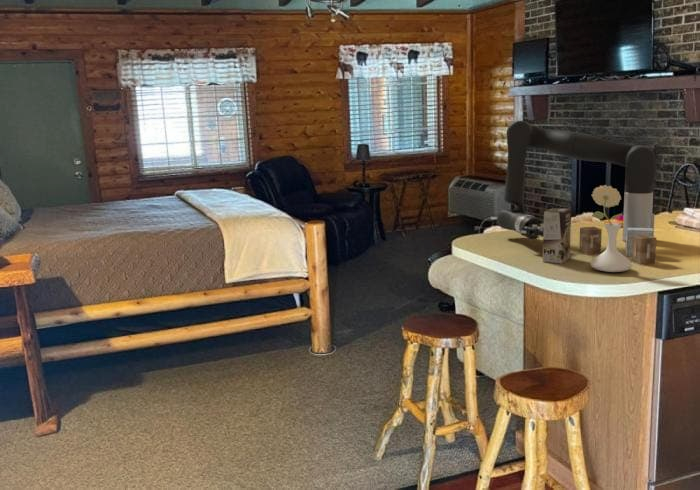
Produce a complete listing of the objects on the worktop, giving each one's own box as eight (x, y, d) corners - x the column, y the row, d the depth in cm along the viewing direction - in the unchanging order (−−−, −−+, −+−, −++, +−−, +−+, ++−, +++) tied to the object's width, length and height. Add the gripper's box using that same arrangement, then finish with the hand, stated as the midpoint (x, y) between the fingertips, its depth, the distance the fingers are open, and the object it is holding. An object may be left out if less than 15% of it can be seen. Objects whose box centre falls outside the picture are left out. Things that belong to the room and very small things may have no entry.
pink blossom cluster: (634, 226, 265) (634, 216, 264) (617, 228, 263) (617, 217, 262) (620, 223, 273) (620, 213, 272) (603, 225, 270) (604, 215, 270)
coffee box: (562, 263, 207) (563, 212, 204) (541, 261, 211) (543, 211, 207) (570, 258, 214) (572, 208, 211) (550, 256, 218) (551, 207, 215)
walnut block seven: (593, 250, 225) (594, 226, 223) (601, 253, 219) (602, 229, 218) (578, 251, 224) (579, 227, 222) (586, 254, 219) (586, 230, 217)
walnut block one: (645, 260, 208) (647, 234, 206) (655, 263, 203) (656, 237, 201) (630, 261, 207) (631, 235, 206) (639, 264, 202) (640, 238, 201)
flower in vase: (640, 270, 195) (644, 185, 190) (616, 277, 189) (620, 189, 184) (600, 263, 206) (603, 182, 201) (577, 269, 199) (580, 185, 195)
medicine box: (651, 254, 215) (653, 227, 214) (652, 257, 211) (654, 230, 209) (625, 253, 218) (626, 227, 216) (625, 256, 214) (627, 229, 212)
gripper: (510, 216, 232) (530, 224, 215) (547, 214, 233) (569, 222, 216) (510, 238, 233) (530, 247, 216) (546, 235, 235) (569, 245, 218)
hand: (550, 235), depth 216 cm, fingers closed
